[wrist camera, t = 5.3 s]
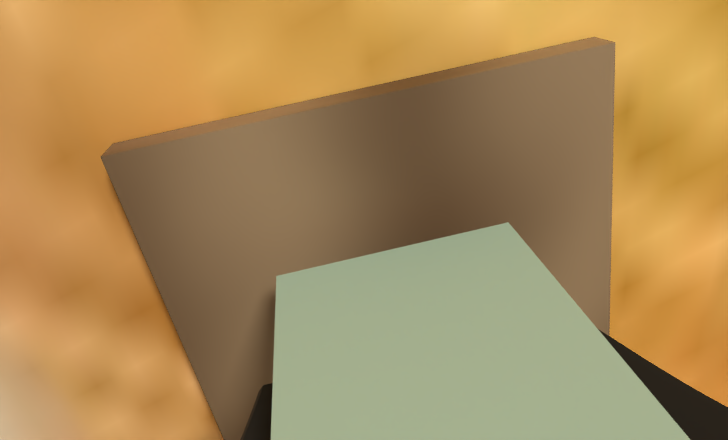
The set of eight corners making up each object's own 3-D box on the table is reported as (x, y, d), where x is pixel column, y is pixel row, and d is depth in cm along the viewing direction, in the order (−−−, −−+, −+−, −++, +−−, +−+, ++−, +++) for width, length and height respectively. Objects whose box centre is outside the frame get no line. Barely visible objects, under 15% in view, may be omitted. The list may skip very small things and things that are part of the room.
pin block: (252, 475, 15) (240, 648, 11) (113, 143, 11) (17, 245, 7) (592, 393, 16) (692, 535, 12) (594, 37, 11) (756, 78, 7)
